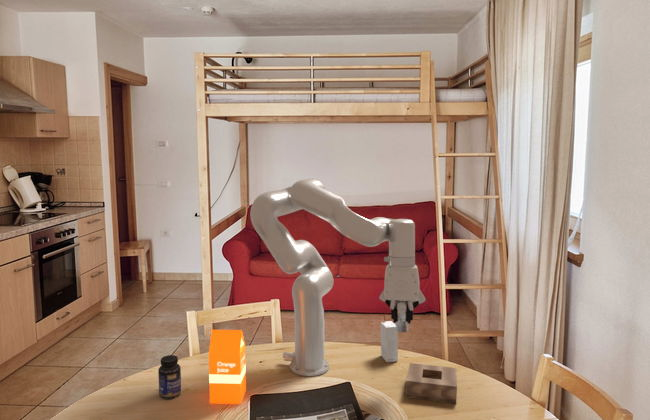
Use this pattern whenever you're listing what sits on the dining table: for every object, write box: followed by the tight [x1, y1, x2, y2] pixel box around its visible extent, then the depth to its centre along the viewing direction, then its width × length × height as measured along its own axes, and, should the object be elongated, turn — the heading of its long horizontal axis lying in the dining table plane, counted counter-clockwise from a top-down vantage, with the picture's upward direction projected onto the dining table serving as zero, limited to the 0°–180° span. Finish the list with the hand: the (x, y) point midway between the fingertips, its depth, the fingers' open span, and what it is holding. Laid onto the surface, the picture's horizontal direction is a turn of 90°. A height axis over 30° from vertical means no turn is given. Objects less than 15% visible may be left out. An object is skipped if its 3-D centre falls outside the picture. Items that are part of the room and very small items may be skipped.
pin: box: [395, 301, 409, 333], centre depth 146 cm, size 4×4×11 cm
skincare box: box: [380, 320, 399, 363], centre depth 166 cm, size 6×4×12 cm
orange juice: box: [208, 329, 247, 405], centre depth 139 cm, size 8×9×20 cm
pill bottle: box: [157, 354, 182, 400], centre depth 141 cm, size 6×6×11 cm
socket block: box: [405, 362, 458, 405], centre depth 145 cm, size 14×12×5 cm
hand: (402, 321), depth 146 cm, fingers closed on pin, 3 cm apart
